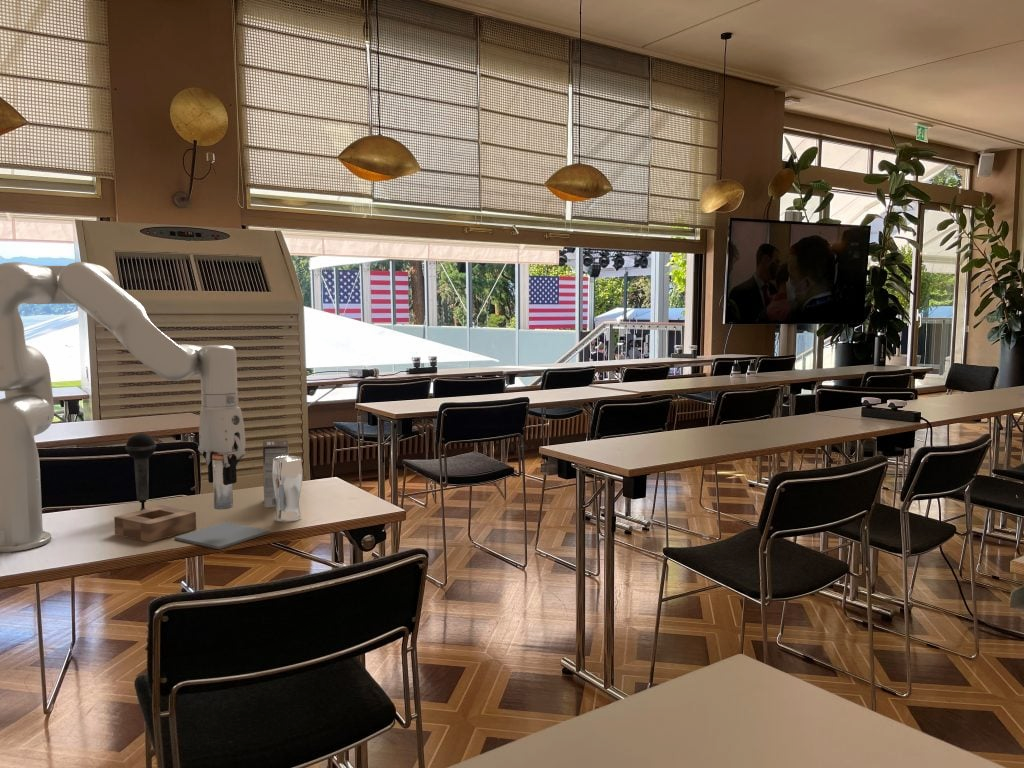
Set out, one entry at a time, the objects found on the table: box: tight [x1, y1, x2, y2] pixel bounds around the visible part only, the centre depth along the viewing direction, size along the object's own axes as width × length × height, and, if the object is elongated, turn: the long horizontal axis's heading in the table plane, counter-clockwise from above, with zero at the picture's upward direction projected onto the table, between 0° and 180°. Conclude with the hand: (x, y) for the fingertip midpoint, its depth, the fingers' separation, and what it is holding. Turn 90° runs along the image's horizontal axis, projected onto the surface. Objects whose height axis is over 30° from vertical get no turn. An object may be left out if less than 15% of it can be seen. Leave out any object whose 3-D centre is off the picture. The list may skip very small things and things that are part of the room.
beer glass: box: [273, 455, 303, 523], centre depth 183 cm, size 7×7×15 cm
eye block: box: [113, 505, 197, 543], centre depth 172 cm, size 12×12×4 cm
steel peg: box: [212, 453, 234, 511], centre depth 168 cm, size 4×4×12 cm
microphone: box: [125, 433, 157, 511], centre depth 187 cm, size 7×7×20 cm
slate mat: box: [174, 521, 270, 550], centre depth 169 cm, size 14×14×1 cm
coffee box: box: [262, 439, 290, 509], centre depth 199 cm, size 9×6×16 cm
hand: (222, 481), depth 168 cm, fingers closed on steel peg, 4 cm apart
